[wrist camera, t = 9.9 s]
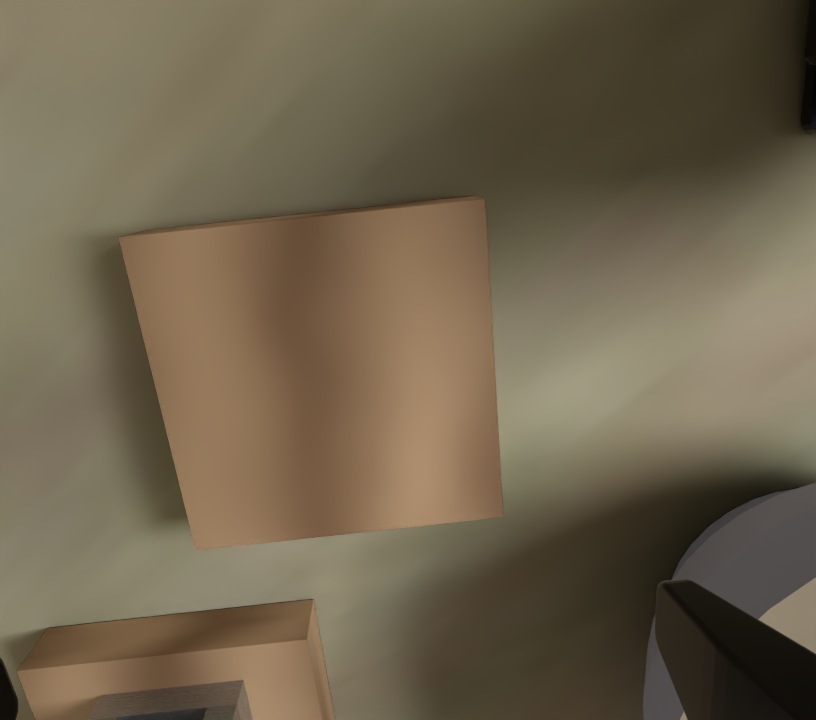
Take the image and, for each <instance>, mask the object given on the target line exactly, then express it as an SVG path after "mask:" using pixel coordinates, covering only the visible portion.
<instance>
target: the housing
mask: <svg viewBox="0 0 816 720" xmlns="http://www.w3.org/2000/svg"><path fill="white" fill-rule="evenodd" d="M88 720H253V718H252V713H251V709H250V705H249V701H248V696H247V692H246V688H245V683H244V680H237V681H227V682H218V683H209V684H199V685H190V686H181V687H171V688H162V689H153V690H143V691H134V692H125V693H116V694H106V695H101V697H100V699H99V701H98V702H97V704H96V706H95V708H94V710H93V712H92V714H91V715H90V717H89V719H88Z"/></svg>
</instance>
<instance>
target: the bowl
mask: <svg viewBox="0 0 816 720" xmlns="http://www.w3.org/2000/svg"><path fill="white" fill-rule="evenodd" d="M677 579H690V580H692V581H694V582H696V583H698V584H699V585H701V586H703V587H704V588H706V589H708V590H709V591H711V592H713V593H714V594H716V595H718V596H719V597H721V598H723V599H725V600H726V601H728V602H730V603H731V604H733V605H735V606H736V607H738V608H740V609H741V610H743V611H745V612H746V613H748V614H750V615H752V616H753V617H755V618H757V619H758V620H760V621H762V622H763V623H765V624H767V625H768V626H770V627H772V628H773V629H775V630H777V631H779V632H780V633H782V634H784V635H785V636H787V637H789V638H790V639H792V640H794V641H795V642H797V643H799V644H800V645H802V646H804V647H806V648H807V649H809V650H811V651H812V652H814V653H816V483H812V484H809V485H806V486H803V487H800V488H797V489H792V490H786V491H780V492H774V493H771V494H768V495H765V496H762V497H759V498H756V499H753V500H750V501H749V502H747V503H745V504H743V505H741V506H739V507H737V508H735V509H733V510H731V511H729V512H728V513H726V514H725V515H724V516H722V517H721V518H719V519H718V520H717V521H715V522H714V523H713V524H711V525H710V526H709V527H708V528H707V529H706V530H705V531H704V532H703V533H702V534H701V535H700V536H699V537H698V538H697V539H696V540H695V541H694V542H693V543H692V544H691V546H690V547H689V548H688V550H687V551H686V553H685V554H684V556H683V557H682V559H681V560H680V561H679V563H678V566H677V568H676V570H675V573H674V575H673V577H672V579H671V580H677ZM643 720H687V717H686V715H685V712H684V710H683V707H682V705H681V702H680V700H679V698H678V695H677V693H676V690H675V688H674V685H673V683H672V680H671V678H670V676H669V673H668V671H667V668H666V666H665V663H664V661H663V658H662V656H661V653H660V651H659V648H658V645H657V642H656V637H655V616H654V618H653V623H652V628H651V633H650V637H649V642H648V648H647V660H646V672H645V683H644V695H643Z"/></svg>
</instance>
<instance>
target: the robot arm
mask: <svg viewBox="0 0 816 720" xmlns="http://www.w3.org/2000/svg"><path fill="white" fill-rule="evenodd" d="M805 57H806V59H807V62H806V72H805V82H804V93H803V103H802V113H801V125H802V127H803V129H804V130H805V131H806V132H808V133H809V134H816V0H810V8H809V18H808V28H807V38H806V49H805ZM655 637H656V642H657V645H658V648H659V651H660V653H661V656H662V658H663V661H664V663H665V666H666V668H667V671H668V673H669V676H670V678H671V680H672V683H673V685H674V688H675V690H676V693H677V695H678V698H679V700H680V702H681V705H682V707H683V710H684V712H685V715H686V717H687V720H816V653H814V652H812V651H811V650H809V649H807V648H806V647H804V646H802V645H800V644H799V643H797V642H795V641H794V640H792V639H790V638H789V637H787V636H785V635H784V634H782V633H780V632H779V631H777V630H775V629H773V628H772V627H770V626H768V625H767V624H765V623H763V622H762V621H760V620H758V619H757V618H755V617H753V616H752V615H750V614H748V613H746V612H745V611H743V610H741V609H740V608H738V607H736V606H735V605H733V604H731V603H730V602H728V601H726V600H725V599H723V598H721V597H719V596H718V595H716V594H714V593H713V592H711V591H709V590H708V589H706V588H704V587H703V586H701V585H699V584H698V583H696V582H694V581H692V580H690V579H677V580H667V581H662V582H660V583H659V584H658V586H657V589H656V607H655ZM17 713H18V699H17V695H16V693H15V690H14V688H13V685H12V683H11V680H10V677H9V675H8V672H7V670H6V667H5V665H4V662H3V660H2V659H1V658H0V720H16V717H17Z"/></svg>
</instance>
